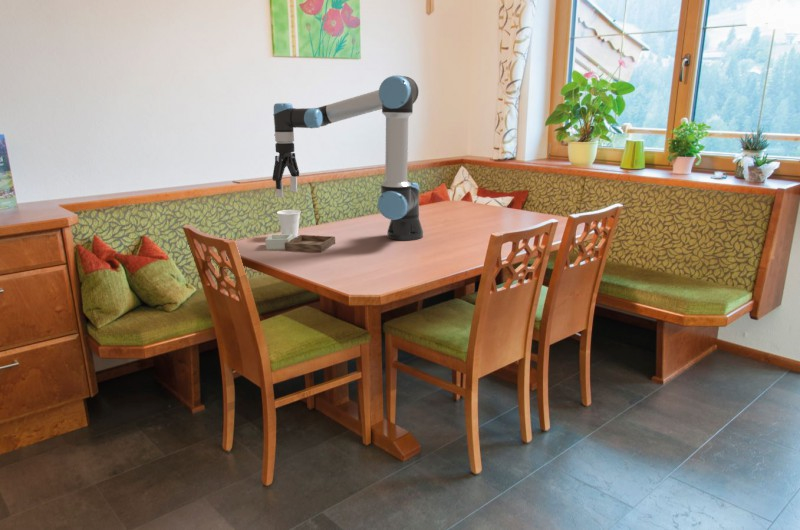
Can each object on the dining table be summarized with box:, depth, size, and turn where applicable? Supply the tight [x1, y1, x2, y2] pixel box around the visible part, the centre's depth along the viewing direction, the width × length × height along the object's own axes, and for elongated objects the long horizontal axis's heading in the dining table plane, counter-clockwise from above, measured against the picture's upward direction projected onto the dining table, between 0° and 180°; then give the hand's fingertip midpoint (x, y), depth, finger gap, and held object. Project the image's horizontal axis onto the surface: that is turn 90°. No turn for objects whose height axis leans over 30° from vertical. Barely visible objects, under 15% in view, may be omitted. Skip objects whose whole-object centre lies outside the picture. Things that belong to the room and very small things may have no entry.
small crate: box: [264, 233, 293, 251], centre depth 240 cm, size 9×9×4 cm
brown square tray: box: [284, 234, 336, 253], centre depth 240 cm, size 15×15×3 cm
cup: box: [276, 209, 302, 239], centre depth 255 cm, size 10×10×11 cm
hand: (287, 194), depth 251 cm, fingers open, 13 cm apart
